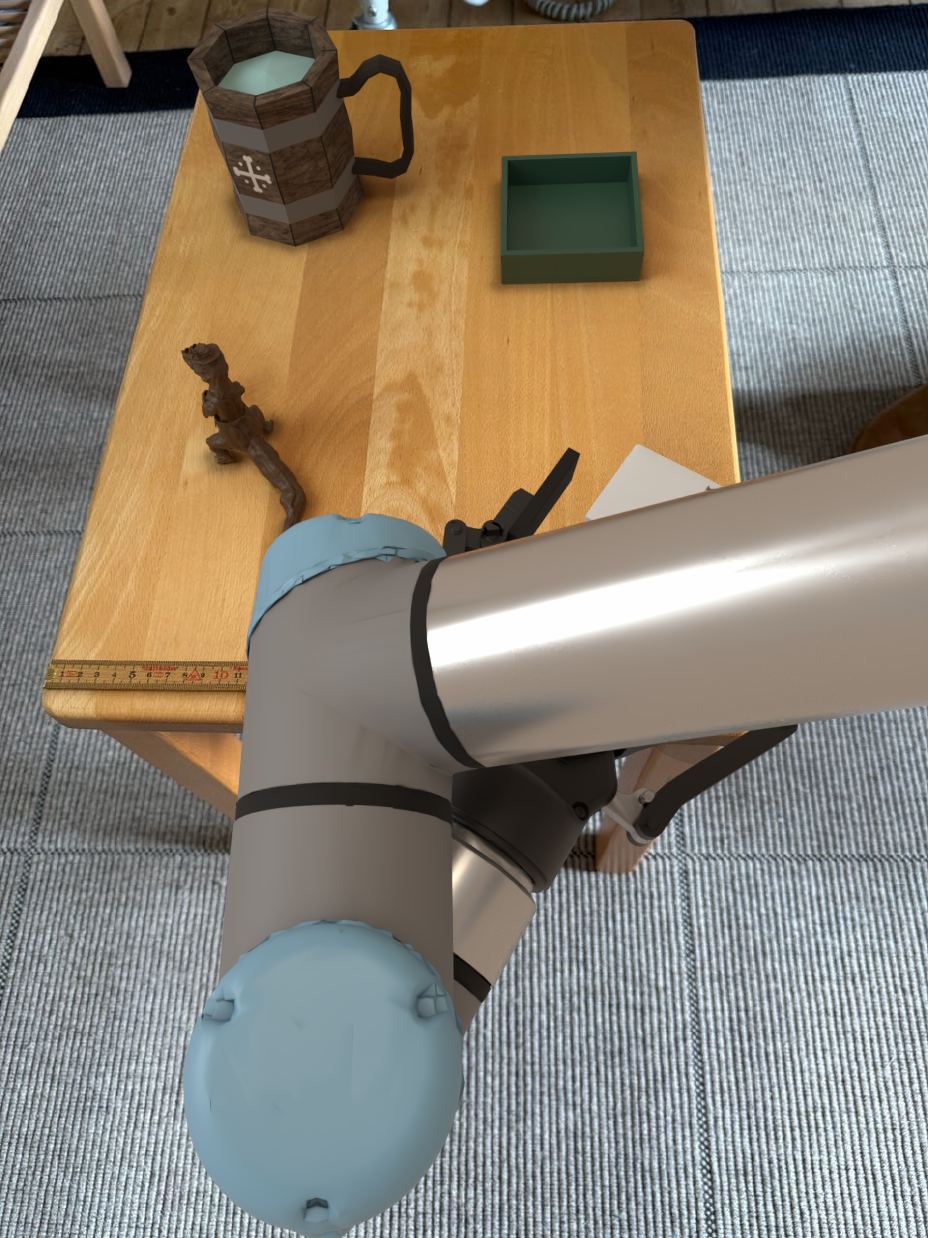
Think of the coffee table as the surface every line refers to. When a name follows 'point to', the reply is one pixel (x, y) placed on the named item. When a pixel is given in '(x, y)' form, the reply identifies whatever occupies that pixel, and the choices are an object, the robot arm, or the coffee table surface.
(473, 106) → the coffee table surface
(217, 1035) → the robot arm
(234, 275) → the coffee table surface
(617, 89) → the coffee table surface
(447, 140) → the coffee table surface
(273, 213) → the mug
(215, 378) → the brown dinosaur figurine
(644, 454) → the white packaging box
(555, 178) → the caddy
